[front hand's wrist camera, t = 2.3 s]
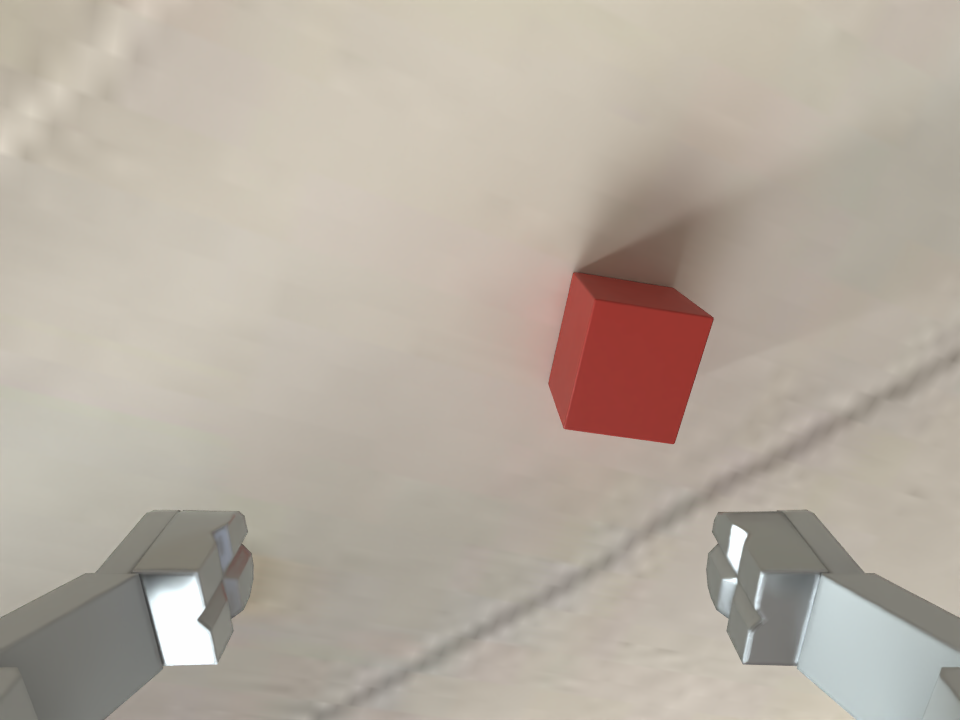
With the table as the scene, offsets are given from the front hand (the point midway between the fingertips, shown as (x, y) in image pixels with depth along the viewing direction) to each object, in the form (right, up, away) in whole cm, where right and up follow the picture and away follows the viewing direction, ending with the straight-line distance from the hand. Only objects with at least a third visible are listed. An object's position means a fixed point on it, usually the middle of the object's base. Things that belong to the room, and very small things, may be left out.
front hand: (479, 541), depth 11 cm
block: (+5, +4, +14) cm, 15 cm away
